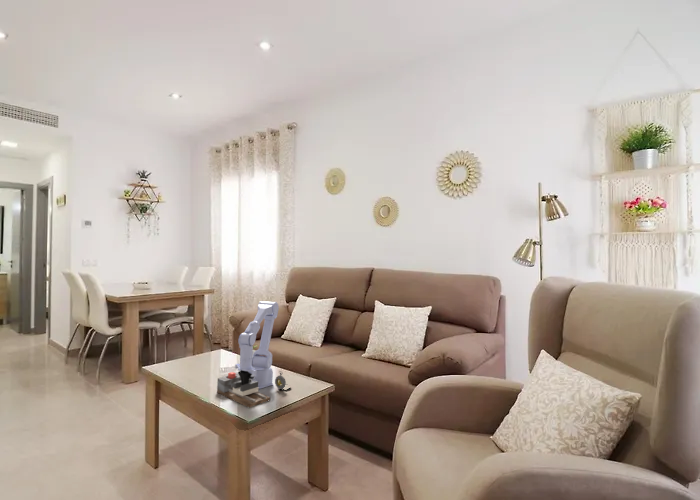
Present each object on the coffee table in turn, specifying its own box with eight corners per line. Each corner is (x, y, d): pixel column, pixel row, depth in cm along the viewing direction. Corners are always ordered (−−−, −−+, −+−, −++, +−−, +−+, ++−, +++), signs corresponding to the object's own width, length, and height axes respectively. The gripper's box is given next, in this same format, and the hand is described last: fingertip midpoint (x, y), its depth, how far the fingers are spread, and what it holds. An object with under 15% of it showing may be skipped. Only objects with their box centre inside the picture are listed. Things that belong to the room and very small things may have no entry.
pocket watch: (291, 386, 198) (292, 367, 198) (289, 392, 190) (290, 372, 190) (276, 386, 198) (277, 367, 198) (273, 391, 189) (274, 372, 189)
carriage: (248, 387, 187) (248, 378, 187) (258, 391, 182) (258, 381, 182) (232, 391, 180) (233, 382, 180) (242, 396, 175) (242, 386, 175)
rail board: (237, 386, 195) (238, 372, 195) (270, 400, 178) (270, 385, 179) (217, 392, 186) (217, 378, 186) (248, 407, 169) (249, 392, 169)
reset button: (232, 379, 191) (232, 371, 191) (236, 381, 189) (237, 373, 189) (226, 381, 188) (226, 373, 188) (230, 383, 186) (230, 375, 186)
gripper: (230, 356, 183) (229, 384, 183) (248, 362, 174) (247, 392, 174) (242, 353, 188) (241, 381, 188) (260, 359, 179) (259, 388, 179)
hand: (244, 386), depth 181 cm, fingers closed
